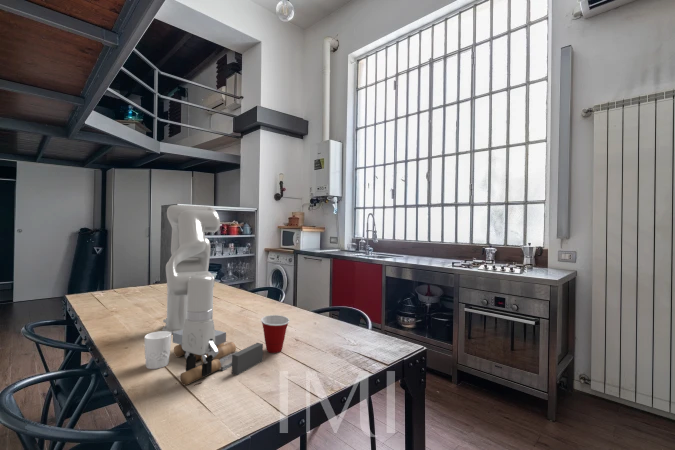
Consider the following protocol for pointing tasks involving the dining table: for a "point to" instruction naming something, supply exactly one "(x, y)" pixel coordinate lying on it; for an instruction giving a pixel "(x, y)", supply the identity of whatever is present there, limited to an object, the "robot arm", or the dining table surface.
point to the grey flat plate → (226, 361)
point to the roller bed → (221, 348)
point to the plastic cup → (274, 332)
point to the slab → (219, 337)
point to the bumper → (247, 358)
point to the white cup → (157, 349)
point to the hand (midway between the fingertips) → (198, 371)
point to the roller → (198, 372)
